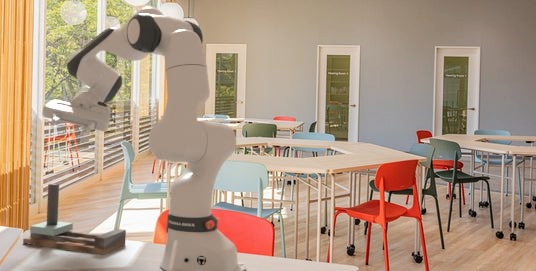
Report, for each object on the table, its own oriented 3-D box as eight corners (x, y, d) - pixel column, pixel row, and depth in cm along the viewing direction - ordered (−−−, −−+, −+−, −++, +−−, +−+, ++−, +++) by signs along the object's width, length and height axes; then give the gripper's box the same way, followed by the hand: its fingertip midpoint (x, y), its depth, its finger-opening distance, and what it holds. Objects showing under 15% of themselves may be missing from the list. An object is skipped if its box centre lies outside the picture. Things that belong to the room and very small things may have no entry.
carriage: (72, 229, 164) (74, 183, 164) (54, 235, 156) (56, 187, 155) (49, 226, 166) (51, 181, 166) (30, 232, 158) (31, 185, 157)
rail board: (125, 244, 162) (125, 229, 162) (103, 254, 150) (104, 238, 150) (49, 235, 168) (50, 220, 168) (23, 243, 157) (23, 228, 156)
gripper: (51, 91, 174) (36, 108, 162) (115, 107, 177) (104, 125, 164) (49, 108, 177) (34, 126, 164) (112, 124, 179) (101, 143, 167)
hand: (69, 126), depth 164 cm, fingers open, 8 cm apart
